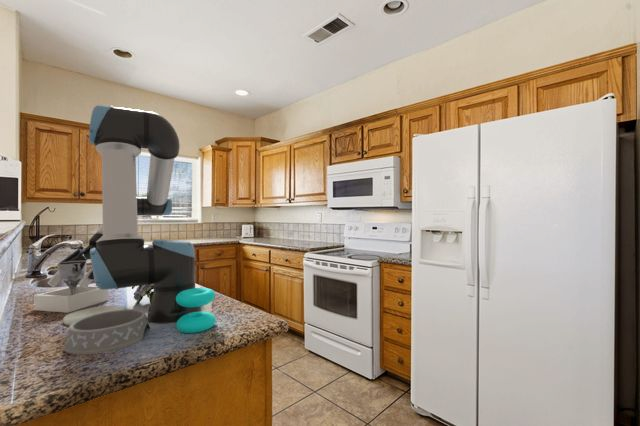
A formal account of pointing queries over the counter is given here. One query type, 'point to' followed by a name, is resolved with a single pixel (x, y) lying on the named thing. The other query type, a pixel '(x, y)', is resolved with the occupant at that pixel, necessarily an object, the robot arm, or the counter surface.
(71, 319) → the plate
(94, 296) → the holder
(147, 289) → the passion flower
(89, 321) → the dog bowl
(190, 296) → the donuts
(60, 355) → the counter surface
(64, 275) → the wine glass
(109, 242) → the robot arm
